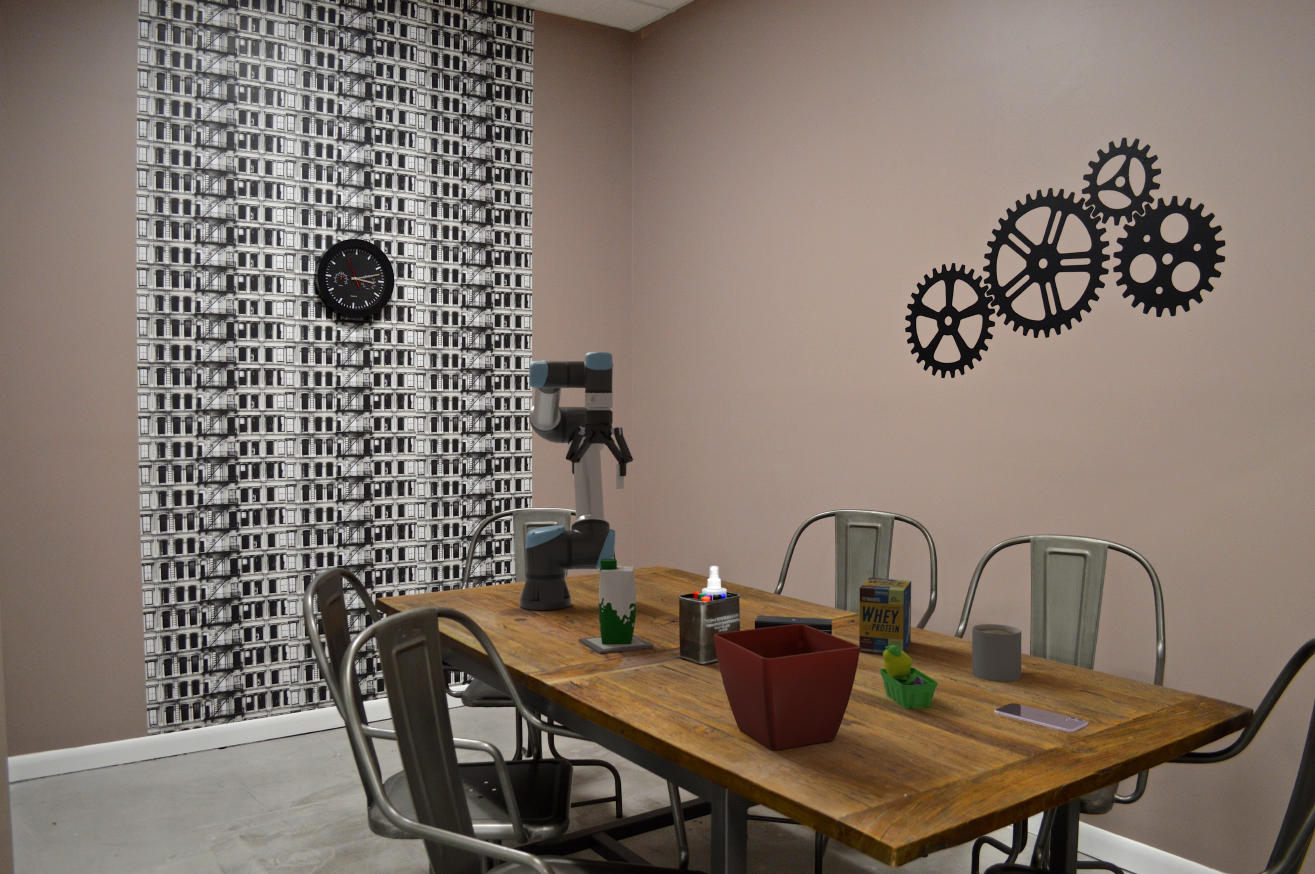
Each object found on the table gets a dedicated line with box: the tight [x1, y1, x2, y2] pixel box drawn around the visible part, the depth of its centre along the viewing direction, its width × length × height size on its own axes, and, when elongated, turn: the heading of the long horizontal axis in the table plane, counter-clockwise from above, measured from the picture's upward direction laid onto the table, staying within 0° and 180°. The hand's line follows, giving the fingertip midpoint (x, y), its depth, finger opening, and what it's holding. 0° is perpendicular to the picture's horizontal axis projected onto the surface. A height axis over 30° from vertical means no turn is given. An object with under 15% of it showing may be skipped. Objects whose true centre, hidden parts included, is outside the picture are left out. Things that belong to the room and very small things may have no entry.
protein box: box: [858, 577, 912, 655], centre depth 224 cm, size 10×15×16 cm
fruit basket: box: [879, 645, 938, 710], centre depth 181 cm, size 11×9×11 cm
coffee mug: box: [971, 623, 1022, 683], centre depth 200 cm, size 13×10×10 cm
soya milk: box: [598, 558, 637, 644], centre depth 227 cm, size 9×9×20 cm
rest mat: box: [578, 634, 654, 655], centre depth 227 cm, size 14×14×1 cm
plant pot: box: [713, 623, 861, 751], centre depth 161 cm, size 19×19×17 cm
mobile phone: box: [993, 702, 1089, 733], centre depth 171 cm, size 8×1×15 cm
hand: (598, 487), depth 251 cm, fingers open, 13 cm apart
